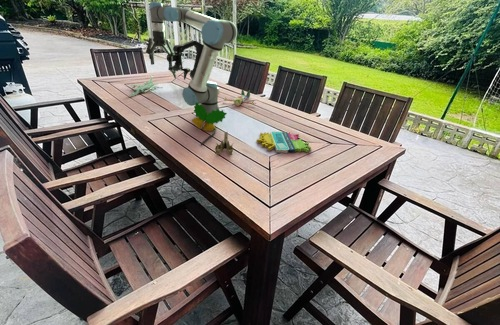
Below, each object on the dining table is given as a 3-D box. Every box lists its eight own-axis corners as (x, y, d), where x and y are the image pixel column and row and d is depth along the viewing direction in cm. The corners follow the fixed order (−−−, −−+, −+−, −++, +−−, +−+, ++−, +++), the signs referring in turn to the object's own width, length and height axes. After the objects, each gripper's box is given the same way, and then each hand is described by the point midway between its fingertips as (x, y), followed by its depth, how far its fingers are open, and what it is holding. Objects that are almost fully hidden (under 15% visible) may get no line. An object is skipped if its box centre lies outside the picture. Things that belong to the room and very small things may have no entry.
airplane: (123, 87, 237) (120, 75, 231) (158, 84, 250) (157, 74, 245) (127, 99, 208) (125, 87, 203) (167, 96, 221) (166, 84, 216)
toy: (261, 91, 228) (254, 99, 202) (261, 99, 231) (253, 108, 205) (231, 87, 233) (220, 95, 207) (230, 95, 236) (219, 104, 210)
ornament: (218, 133, 171) (224, 110, 169) (221, 134, 163) (227, 111, 161) (186, 125, 162) (192, 101, 160) (189, 126, 155) (195, 101, 153)
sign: (313, 150, 142) (258, 149, 139) (312, 153, 143) (258, 152, 140) (301, 132, 164) (254, 130, 161) (301, 134, 165) (254, 133, 162)
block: (214, 92, 242) (214, 87, 239) (219, 92, 241) (219, 87, 239) (213, 93, 238) (213, 88, 235) (217, 94, 237) (217, 88, 235)
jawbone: (234, 135, 144) (233, 125, 135) (233, 160, 138) (232, 151, 129) (217, 135, 144) (216, 125, 135) (216, 160, 138) (214, 150, 129)
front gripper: (137, 29, 165) (142, 64, 176) (172, 32, 160) (175, 68, 171) (144, 28, 172) (148, 62, 182) (178, 32, 167) (181, 66, 177)
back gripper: (164, 61, 225) (166, 79, 233) (184, 63, 222) (185, 82, 229) (170, 59, 235) (172, 77, 242) (190, 61, 231) (190, 79, 239)
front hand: (161, 65), depth 176 cm, fingers open, 13 cm apart
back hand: (179, 79), depth 238 cm, fingers open, 9 cm apart
